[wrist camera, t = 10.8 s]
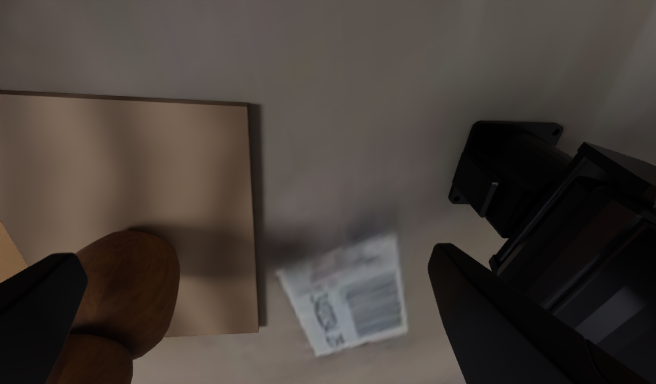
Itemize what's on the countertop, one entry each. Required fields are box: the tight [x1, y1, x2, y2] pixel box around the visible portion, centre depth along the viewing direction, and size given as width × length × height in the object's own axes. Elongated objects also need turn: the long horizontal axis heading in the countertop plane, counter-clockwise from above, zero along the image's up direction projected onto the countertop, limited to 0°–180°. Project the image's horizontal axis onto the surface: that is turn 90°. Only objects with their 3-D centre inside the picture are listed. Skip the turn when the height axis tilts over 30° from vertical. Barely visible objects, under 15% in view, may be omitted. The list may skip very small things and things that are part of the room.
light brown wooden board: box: [0, 90, 259, 337], centre depth 24 cm, size 16×22×2 cm
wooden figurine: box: [45, 231, 180, 384], centre depth 17 cm, size 7×6×15 cm
